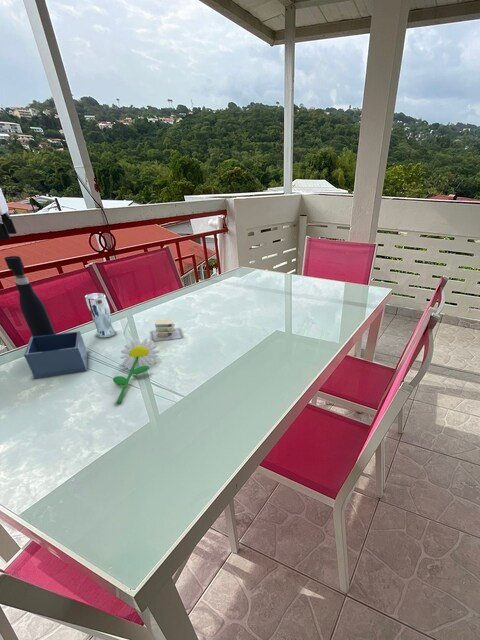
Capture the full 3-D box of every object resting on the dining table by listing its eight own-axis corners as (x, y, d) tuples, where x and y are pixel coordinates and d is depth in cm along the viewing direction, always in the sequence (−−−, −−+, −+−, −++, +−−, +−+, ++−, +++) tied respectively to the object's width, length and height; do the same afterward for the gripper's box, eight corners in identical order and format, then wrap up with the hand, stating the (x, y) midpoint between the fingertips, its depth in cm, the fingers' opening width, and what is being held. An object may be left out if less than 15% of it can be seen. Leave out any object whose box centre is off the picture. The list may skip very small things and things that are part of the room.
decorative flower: (144, 408, 94) (164, 349, 116) (139, 396, 90) (160, 337, 112) (98, 411, 93) (127, 351, 115) (91, 399, 89) (122, 339, 111)
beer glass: (106, 339, 124) (94, 300, 115) (92, 336, 126) (79, 296, 117) (120, 332, 129) (110, 294, 121) (106, 329, 131) (95, 291, 123)
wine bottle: (44, 344, 118) (7, 254, 101) (63, 344, 119) (29, 255, 102) (34, 352, 113) (-7, 259, 96) (54, 352, 114) (17, 260, 97)
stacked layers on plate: (154, 341, 125) (151, 327, 122) (152, 332, 131) (149, 318, 128) (181, 337, 128) (179, 324, 125) (178, 329, 135) (176, 316, 132)
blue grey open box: (34, 378, 100) (23, 355, 95) (40, 359, 109) (30, 336, 105) (86, 370, 105) (78, 347, 100) (87, 352, 115) (79, 331, 110)
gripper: (-32, 163, 91) (-3, 232, 101) (-53, 164, 79) (-17, 242, 89) (2, 165, 94) (27, 231, 104) (-13, 166, 82) (17, 241, 91)
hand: (7, 236), depth 96 cm, fingers open, 9 cm apart
